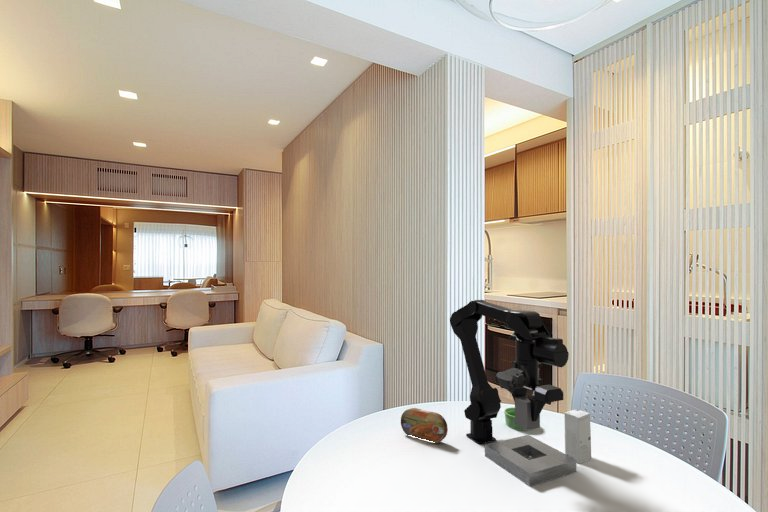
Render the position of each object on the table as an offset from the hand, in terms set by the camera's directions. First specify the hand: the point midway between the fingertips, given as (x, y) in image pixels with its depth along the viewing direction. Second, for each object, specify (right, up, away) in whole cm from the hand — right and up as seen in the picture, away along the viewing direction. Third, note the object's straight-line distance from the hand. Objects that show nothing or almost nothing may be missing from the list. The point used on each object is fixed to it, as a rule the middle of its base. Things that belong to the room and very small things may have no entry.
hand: (527, 417), depth 99 cm
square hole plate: (0, -12, 0) cm, 12 cm away
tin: (-26, -13, +14) cm, 32 cm away
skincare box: (+15, -13, +3) cm, 20 cm away
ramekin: (+7, -13, +24) cm, 29 cm away
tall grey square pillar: (0, -2, 0) cm, 2 cm away
